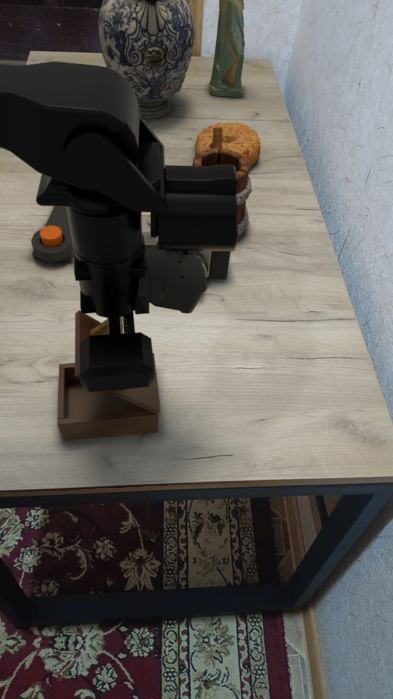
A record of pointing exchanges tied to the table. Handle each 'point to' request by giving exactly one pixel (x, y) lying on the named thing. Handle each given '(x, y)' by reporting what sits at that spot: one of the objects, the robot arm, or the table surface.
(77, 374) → the lid
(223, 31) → the statue
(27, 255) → the table surface
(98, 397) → the chest
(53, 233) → the button
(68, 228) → the block
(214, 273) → the camera
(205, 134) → the bagel
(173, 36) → the decorative vase
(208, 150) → the mug
